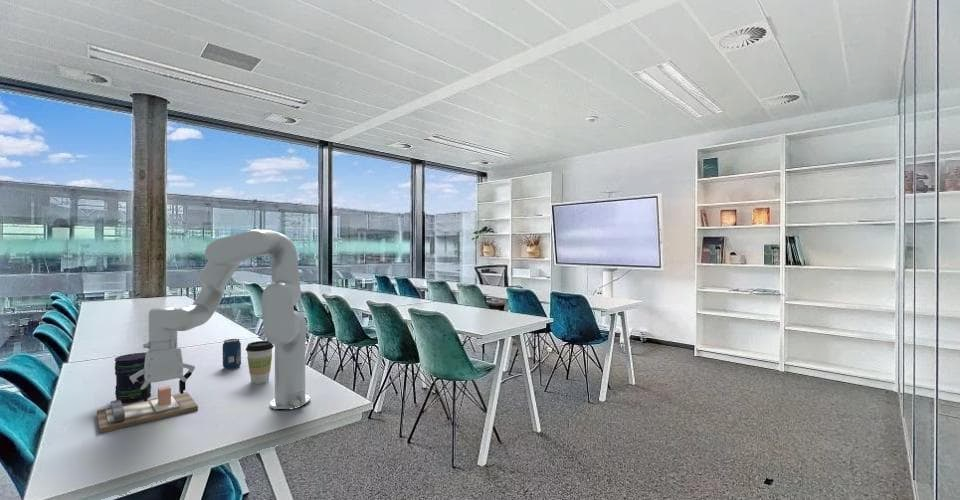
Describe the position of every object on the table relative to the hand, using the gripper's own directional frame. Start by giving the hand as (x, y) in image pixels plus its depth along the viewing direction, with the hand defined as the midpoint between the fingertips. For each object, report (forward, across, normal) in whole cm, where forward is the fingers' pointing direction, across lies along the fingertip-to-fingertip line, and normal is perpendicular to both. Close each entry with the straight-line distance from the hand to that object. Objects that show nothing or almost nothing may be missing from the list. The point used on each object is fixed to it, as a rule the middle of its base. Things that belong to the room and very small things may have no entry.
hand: (163, 396), depth 141 cm
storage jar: (+5, -6, +19) cm, 20 cm away
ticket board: (+4, -4, 0) cm, 6 cm away
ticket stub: (+3, 0, 0) cm, 3 cm away
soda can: (+4, +29, +36) cm, 46 cm away
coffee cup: (+4, +32, +8) cm, 33 cm away
